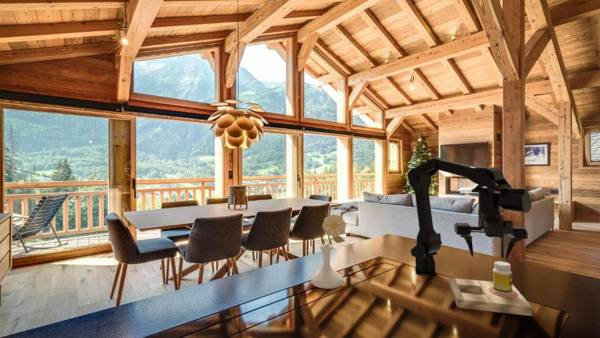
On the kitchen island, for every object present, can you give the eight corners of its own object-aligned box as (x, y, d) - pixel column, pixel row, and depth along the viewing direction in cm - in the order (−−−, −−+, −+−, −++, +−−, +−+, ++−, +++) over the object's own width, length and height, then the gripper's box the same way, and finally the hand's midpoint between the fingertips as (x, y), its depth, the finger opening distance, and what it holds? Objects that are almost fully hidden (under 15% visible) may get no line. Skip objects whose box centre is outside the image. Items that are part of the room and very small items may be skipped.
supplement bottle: (513, 296, 87) (512, 267, 86) (493, 292, 89) (493, 264, 89) (511, 289, 91) (511, 262, 90) (493, 286, 93) (492, 259, 93)
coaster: (492, 296, 88) (492, 295, 88) (486, 286, 94) (486, 285, 94) (521, 298, 85) (521, 297, 85) (512, 288, 92) (512, 287, 92)
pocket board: (457, 307, 87) (457, 298, 87) (449, 285, 102) (449, 277, 102) (532, 316, 81) (532, 306, 81) (511, 291, 96) (511, 283, 96)
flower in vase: (306, 289, 102) (304, 216, 101) (316, 277, 112) (314, 210, 112) (344, 294, 97) (342, 217, 97) (351, 281, 108) (349, 211, 107)
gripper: (459, 211, 89) (459, 263, 90) (535, 214, 83) (535, 270, 83) (454, 205, 99) (453, 252, 100) (521, 207, 93) (520, 257, 94)
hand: (488, 257), depth 94 cm, fingers open, 9 cm apart
